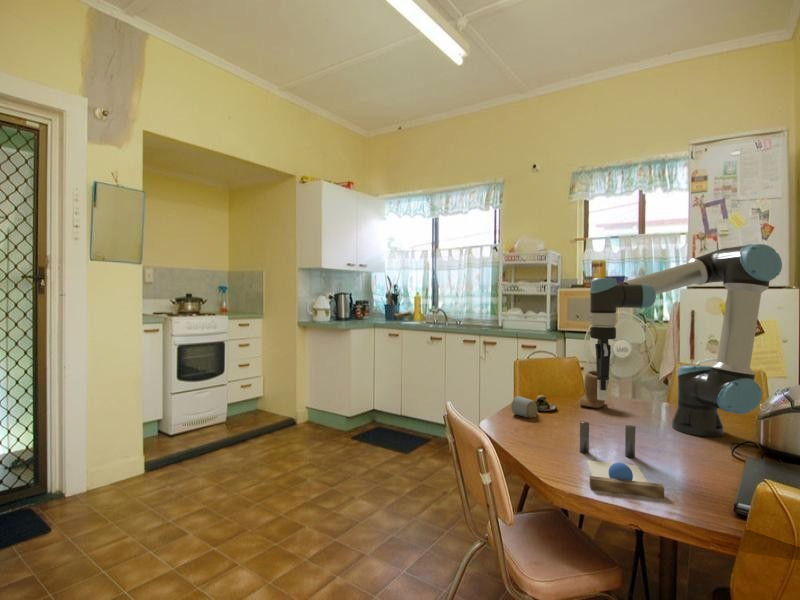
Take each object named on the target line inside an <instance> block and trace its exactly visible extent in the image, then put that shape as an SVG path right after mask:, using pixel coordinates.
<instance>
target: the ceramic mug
mask: <svg viewBox="0 0 800 600" xmlns="http://www.w3.org/2000/svg"><path fill="white" fill-rule="evenodd" d="M510 408H511V412H512V413H513V415H516V416H520V417H524V418H529V419H532V418H534V417H535V416H536V415H538V412H539V410H537V405H536V403H535V401H534V400H532V399H529V398H526V397H523V396H520V395H517V396H515V397H514V398H513V399H512V402H511V407H510Z"/></svg>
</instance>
